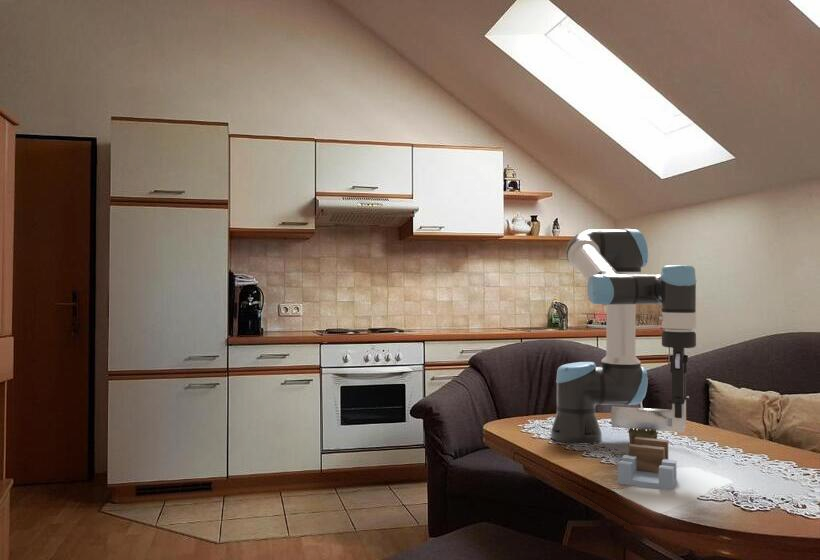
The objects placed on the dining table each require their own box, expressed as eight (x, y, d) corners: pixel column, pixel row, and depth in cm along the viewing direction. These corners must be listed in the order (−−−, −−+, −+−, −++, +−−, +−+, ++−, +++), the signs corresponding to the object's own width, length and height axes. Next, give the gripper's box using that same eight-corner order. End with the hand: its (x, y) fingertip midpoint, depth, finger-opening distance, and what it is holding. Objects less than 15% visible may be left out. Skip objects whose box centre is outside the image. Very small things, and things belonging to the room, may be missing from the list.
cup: (660, 463, 172) (659, 433, 173) (630, 462, 174) (630, 432, 174) (655, 456, 180) (655, 427, 180) (627, 455, 181) (626, 426, 181)
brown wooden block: (635, 463, 172) (635, 436, 173) (668, 467, 169) (668, 440, 169) (629, 474, 162) (628, 446, 162) (663, 478, 159) (663, 449, 159)
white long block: (613, 420, 164) (612, 402, 163) (683, 425, 158) (682, 406, 157) (611, 430, 160) (610, 412, 159) (682, 436, 154) (682, 416, 152)
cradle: (623, 475, 162) (623, 454, 162) (676, 481, 156) (676, 460, 156) (617, 484, 154) (617, 463, 154) (672, 492, 148) (672, 469, 148)
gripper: (664, 328, 166) (665, 420, 165) (658, 332, 149) (659, 435, 149) (697, 328, 162) (697, 423, 162) (694, 333, 146) (695, 438, 146)
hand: (679, 428), depth 156 cm, fingers closed on white long block, 5 cm apart
